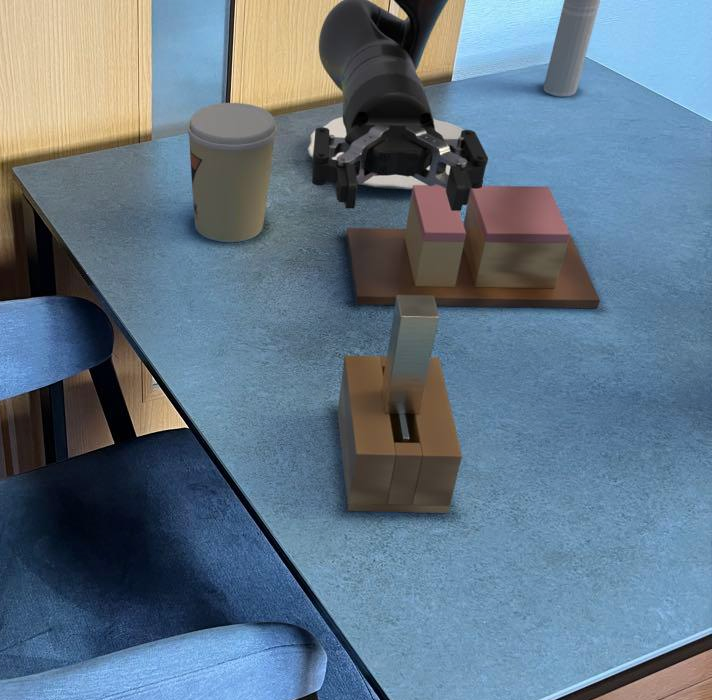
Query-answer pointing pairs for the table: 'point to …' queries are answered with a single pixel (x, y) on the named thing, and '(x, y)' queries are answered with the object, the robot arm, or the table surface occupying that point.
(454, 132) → the plate
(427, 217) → the cake slice
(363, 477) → the knife block
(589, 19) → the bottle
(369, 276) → the cake
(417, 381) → the knife
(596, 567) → the table surface
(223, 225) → the coffee cup
